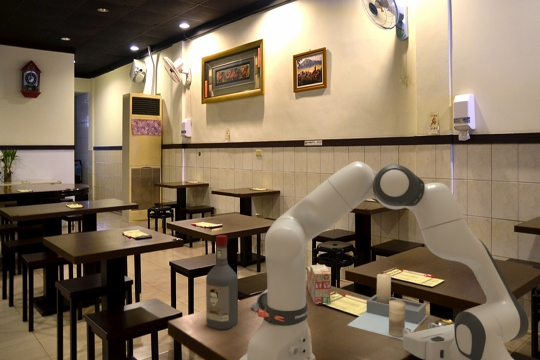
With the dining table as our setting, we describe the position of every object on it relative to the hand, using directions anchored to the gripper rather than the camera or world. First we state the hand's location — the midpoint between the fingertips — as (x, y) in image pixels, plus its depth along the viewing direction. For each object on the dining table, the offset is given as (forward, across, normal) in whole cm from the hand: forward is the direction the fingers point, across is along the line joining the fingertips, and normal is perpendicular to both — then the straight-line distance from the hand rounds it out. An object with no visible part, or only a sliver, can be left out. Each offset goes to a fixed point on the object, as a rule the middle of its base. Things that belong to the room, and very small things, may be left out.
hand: (417, 328), depth 122 cm
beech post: (+9, 0, +5) cm, 10 cm away
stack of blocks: (+53, +2, +7) cm, 54 cm away
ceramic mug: (+47, +28, +7) cm, 55 cm away
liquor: (+40, +47, +7) cm, 63 cm away
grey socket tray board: (+19, -5, +6) cm, 20 cm away
